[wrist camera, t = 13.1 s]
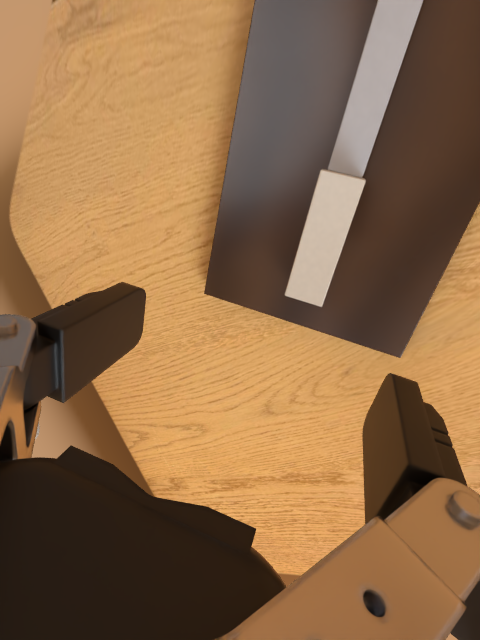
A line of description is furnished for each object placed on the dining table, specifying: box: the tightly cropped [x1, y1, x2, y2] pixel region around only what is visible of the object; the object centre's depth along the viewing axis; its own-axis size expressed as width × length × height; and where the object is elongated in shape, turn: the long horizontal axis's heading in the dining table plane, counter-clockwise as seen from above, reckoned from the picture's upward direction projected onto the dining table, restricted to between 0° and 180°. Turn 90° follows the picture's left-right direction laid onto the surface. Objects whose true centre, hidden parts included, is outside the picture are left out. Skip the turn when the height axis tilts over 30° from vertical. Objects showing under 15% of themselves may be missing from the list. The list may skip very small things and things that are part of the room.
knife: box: [285, 0, 423, 307], centre depth 20 cm, size 18×3×3 cm, turn 168°
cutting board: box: [204, 0, 480, 358], centre depth 22 cm, size 16×24×2 cm, turn 168°
